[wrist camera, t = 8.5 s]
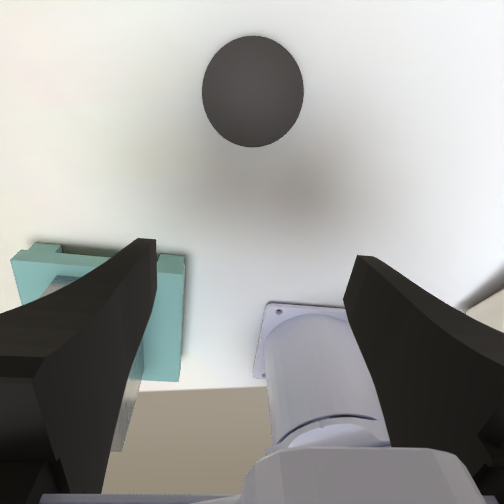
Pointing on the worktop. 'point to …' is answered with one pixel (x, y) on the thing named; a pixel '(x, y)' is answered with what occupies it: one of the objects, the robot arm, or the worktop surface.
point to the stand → (163, 313)
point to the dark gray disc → (252, 91)
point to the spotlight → (490, 311)
